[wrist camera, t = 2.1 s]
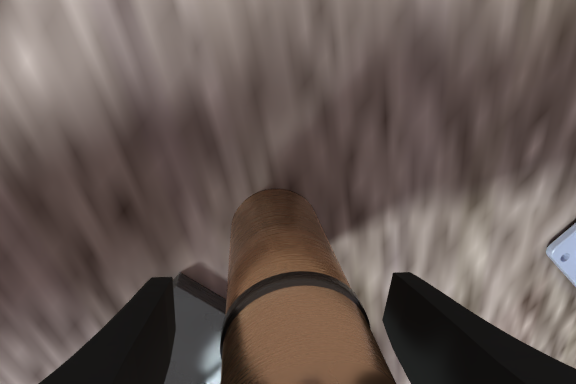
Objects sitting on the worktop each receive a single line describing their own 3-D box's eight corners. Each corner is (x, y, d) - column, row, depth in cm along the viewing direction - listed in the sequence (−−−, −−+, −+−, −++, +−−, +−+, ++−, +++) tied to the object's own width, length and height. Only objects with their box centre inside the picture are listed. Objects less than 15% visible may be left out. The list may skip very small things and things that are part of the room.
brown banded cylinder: (336, 222, 15) (445, 409, 7) (278, 280, 16) (316, 509, 8) (270, 168, 14) (310, 323, 6) (210, 235, 15) (170, 455, 7)
